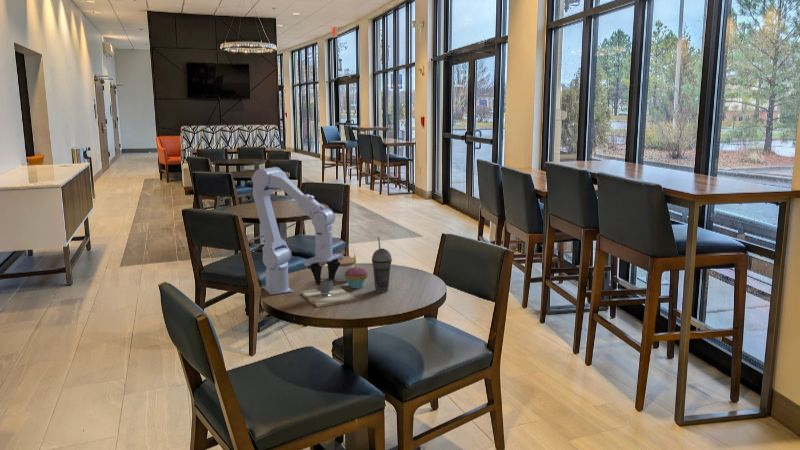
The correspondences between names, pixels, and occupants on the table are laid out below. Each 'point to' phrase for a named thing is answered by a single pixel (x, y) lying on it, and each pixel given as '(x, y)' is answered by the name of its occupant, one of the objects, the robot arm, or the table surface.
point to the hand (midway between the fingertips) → (324, 282)
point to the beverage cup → (381, 269)
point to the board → (336, 297)
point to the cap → (325, 285)
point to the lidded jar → (344, 268)
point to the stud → (324, 294)
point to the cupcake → (355, 276)
